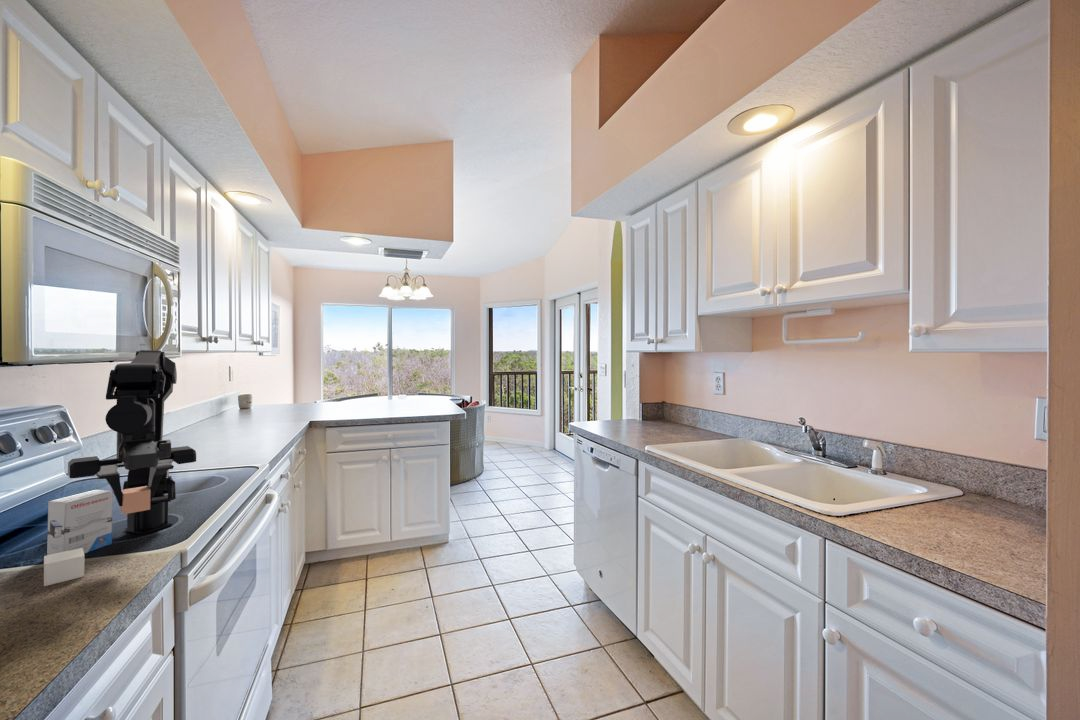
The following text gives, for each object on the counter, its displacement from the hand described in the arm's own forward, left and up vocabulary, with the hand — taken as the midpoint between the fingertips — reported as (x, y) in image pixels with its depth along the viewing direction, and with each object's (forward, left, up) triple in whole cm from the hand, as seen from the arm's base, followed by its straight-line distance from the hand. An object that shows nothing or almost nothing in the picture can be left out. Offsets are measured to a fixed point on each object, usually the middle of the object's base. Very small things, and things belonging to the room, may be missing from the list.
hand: (135, 503), depth 90 cm
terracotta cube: (0, 0, -1) cm, 1 cm away
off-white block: (+9, -4, -11) cm, 15 cm away
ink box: (+1, -14, -12) cm, 18 cm away
